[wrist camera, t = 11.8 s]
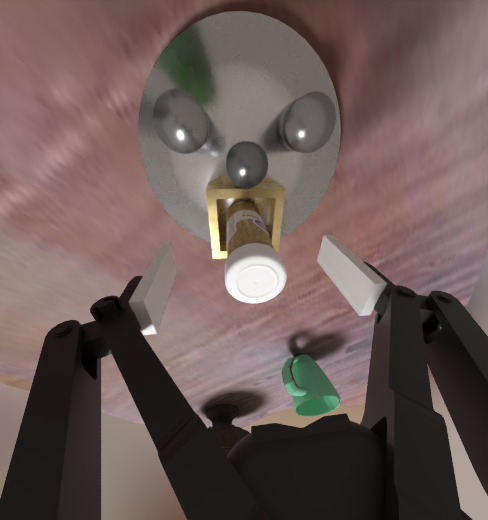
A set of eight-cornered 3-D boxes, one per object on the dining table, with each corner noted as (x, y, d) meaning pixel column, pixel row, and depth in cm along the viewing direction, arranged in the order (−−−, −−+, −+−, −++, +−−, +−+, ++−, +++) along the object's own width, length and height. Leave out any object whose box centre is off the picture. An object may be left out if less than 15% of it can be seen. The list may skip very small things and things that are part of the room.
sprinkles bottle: (266, 208, 24) (301, 268, 13) (250, 238, 26) (269, 312, 15) (233, 194, 23) (240, 246, 12) (220, 226, 25) (214, 296, 14)
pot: (177, 417, 58) (166, 529, 41) (222, 390, 54) (230, 499, 37) (216, 428, 67) (220, 524, 50) (257, 405, 63) (276, 500, 46)
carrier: (168, 246, 28) (156, 267, 23) (111, 14, 16) (64, -38, 11) (313, 240, 29) (330, 258, 25) (360, 26, 17) (409, -16, 13)
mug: (328, 357, 48) (349, 403, 40) (297, 374, 51) (311, 419, 43) (294, 334, 42) (311, 383, 33) (261, 355, 45) (270, 404, 37)
